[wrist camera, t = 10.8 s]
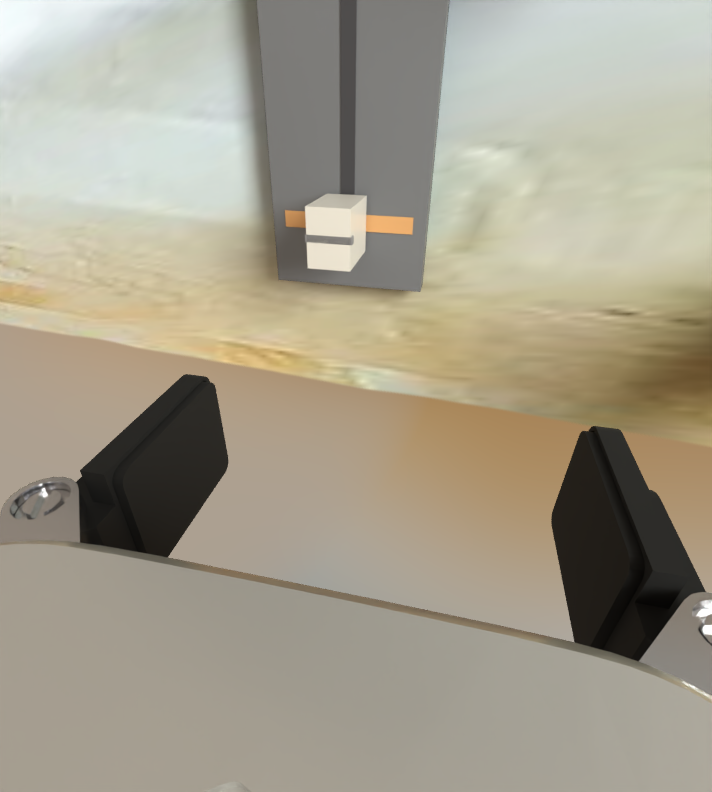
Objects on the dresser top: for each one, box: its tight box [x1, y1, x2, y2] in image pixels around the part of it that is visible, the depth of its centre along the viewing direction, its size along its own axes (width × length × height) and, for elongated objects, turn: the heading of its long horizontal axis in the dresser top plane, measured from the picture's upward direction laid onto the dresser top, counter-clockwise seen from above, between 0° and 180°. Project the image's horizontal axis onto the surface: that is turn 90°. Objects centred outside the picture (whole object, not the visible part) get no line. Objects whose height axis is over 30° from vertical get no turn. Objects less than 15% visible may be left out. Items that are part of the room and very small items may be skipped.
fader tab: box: [305, 194, 367, 272], centre depth 32 cm, size 3×4×5 cm
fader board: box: [257, 0, 450, 292], centre depth 32 cm, size 12×24×2 cm, turn 179°
